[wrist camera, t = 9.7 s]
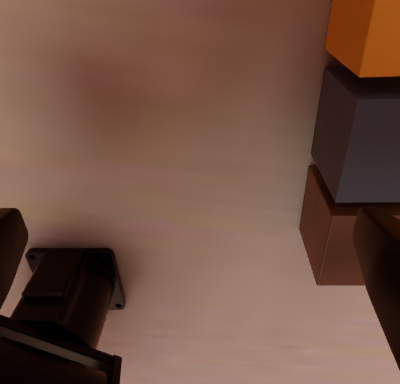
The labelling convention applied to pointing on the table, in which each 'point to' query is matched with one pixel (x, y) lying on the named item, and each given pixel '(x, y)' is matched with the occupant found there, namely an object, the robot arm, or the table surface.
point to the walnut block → (333, 232)
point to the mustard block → (365, 36)
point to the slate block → (358, 136)
